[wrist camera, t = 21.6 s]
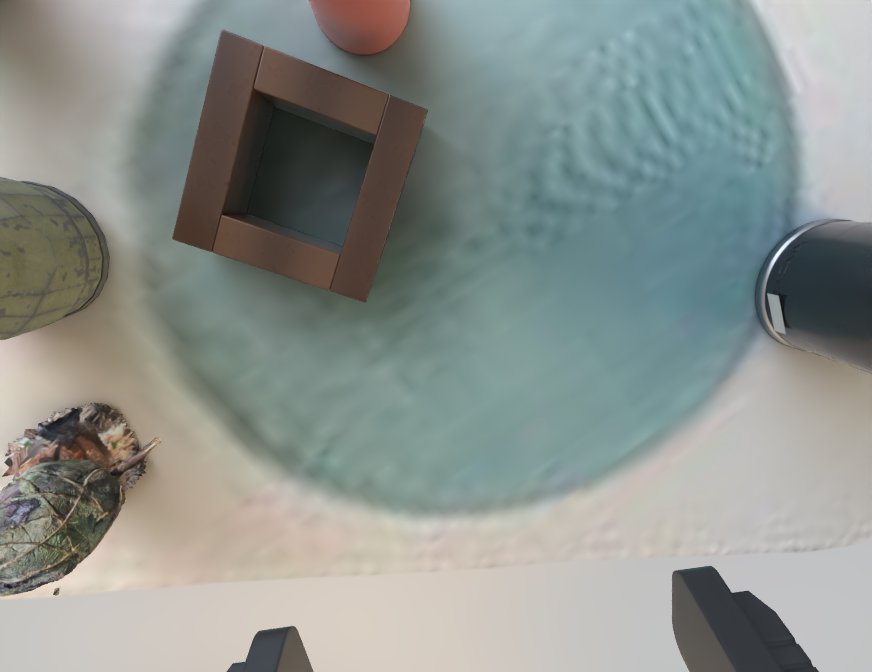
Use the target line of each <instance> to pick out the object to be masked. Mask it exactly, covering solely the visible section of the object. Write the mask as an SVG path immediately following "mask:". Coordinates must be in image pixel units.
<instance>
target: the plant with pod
mask: <svg viewBox="0 0 872 672" xmlns="http://www.w3.org/2000/svg"><path fill="white" fill-rule="evenodd" d="M85 405H86V404H85ZM82 407H83V408H80V407H77V409H75V408H72V409H71V410H70V409H67V408H66V409H65V410H64V412H53V415H51V416H52V417H51V418H48V421H46V422H42V423H39V424H38V427H39V429H25V434H24V439H17V440H18V442H16V441H14V442H13V443H8V446H9V450H8V452H7V453H6V455H5V456H10V457H9V458H8V459H7V460H6V461H5V462H4V463H5V464H7V465H8V466H9V467H10V468H9V469H8V470H7V471H6V473H5V474H4V475H3V476H8V475H14V474H15V475H14V478H13V482H12V483H9V484H8V485H7V486H6V487H4V488H3V489H2V491H0V596H8V595H13V594H18V593H23V592H28V591H32V590H34V589H36V588H38V587H40V586H42V585H45V584H48V583H50V582H54V581H58V580H59V579H61V578H63V577H64V576H65V575H67V574H69V573H70V572H72V571H73V569H75V567H76V566H77V564H79V563H81V561H82V560H84V559H85V558H86V557H87V556H88V555H90V554H91V553H92V552H93V550H94V549H95V548H96V547H97V546H98V544H99V543H100V542H101V540H102V539H103V537H104V535H105V534H106V533H107V531H108V530H109V528H110V527H111V526H112V524H113V522H114V521H115V519H116V518H117V516H118V514H119V512H120V510H121V506H122V504H124V503H125V493H124V492H125V491H126V490H127V488H128V487H129V488H132V486H131V485H133V484H134V483H135V482H134V481H133V480H138V479H139V476H142V475H141V474H140V473H145V471H144V469H145V467H146V466H145V465H144V463H146V462H147V461H144V458H145V456H146V455H147V454H148V453H149V452H150V451H151V450H152V449H153V448H154V447H155V446H156V445H157V444H159V443H160V442H161V439H160V438H155V439H154V440H153V441H151V442H150V443H149V444H148V445H146V446H145V447H144V448H143V450H142V451H140V450H139V446H138V443H137V439H136V438H130V437H129V436H130V435H131V434H132V433H133V432H134V431H130V430H129V426H128V427H125V426H126V423H122V422H123V421H125V420H124V419H122V418H121V417H122V414H116V411H117V410H114V409H110V408H109V407H108V406H107V405H103V404H98V403H97V404H96V403H95V404H94V405H93V404H92V403H91V404H90V406H88V405H86V408H85V407H84V406H82ZM3 476H2V477H3ZM135 484H136V483H135ZM57 594H59V588H57V589H55V590H54V594H53V595H57Z"/></svg>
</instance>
